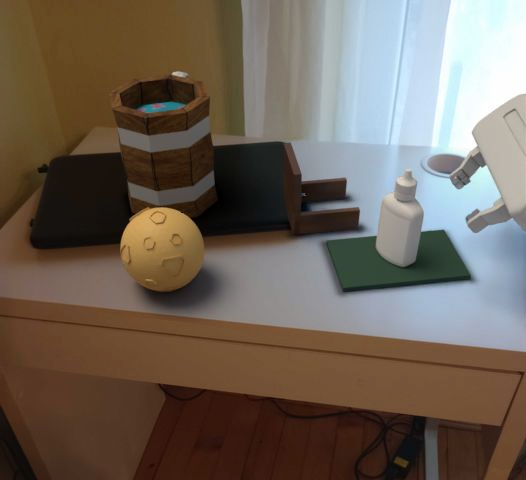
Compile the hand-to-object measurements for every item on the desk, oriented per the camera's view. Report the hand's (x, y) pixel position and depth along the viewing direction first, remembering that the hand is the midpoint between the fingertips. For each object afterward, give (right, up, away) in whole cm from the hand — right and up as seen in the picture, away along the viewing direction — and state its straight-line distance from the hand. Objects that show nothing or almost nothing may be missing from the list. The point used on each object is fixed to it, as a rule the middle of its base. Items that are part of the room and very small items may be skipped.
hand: (460, 203), depth 74 cm
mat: (-6, -6, +6) cm, 11 cm away
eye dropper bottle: (-6, -5, +6) cm, 10 cm away
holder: (-15, +2, +14) cm, 21 cm away
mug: (-36, +7, +21) cm, 42 cm away
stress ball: (-35, -9, +4) cm, 36 cm away
